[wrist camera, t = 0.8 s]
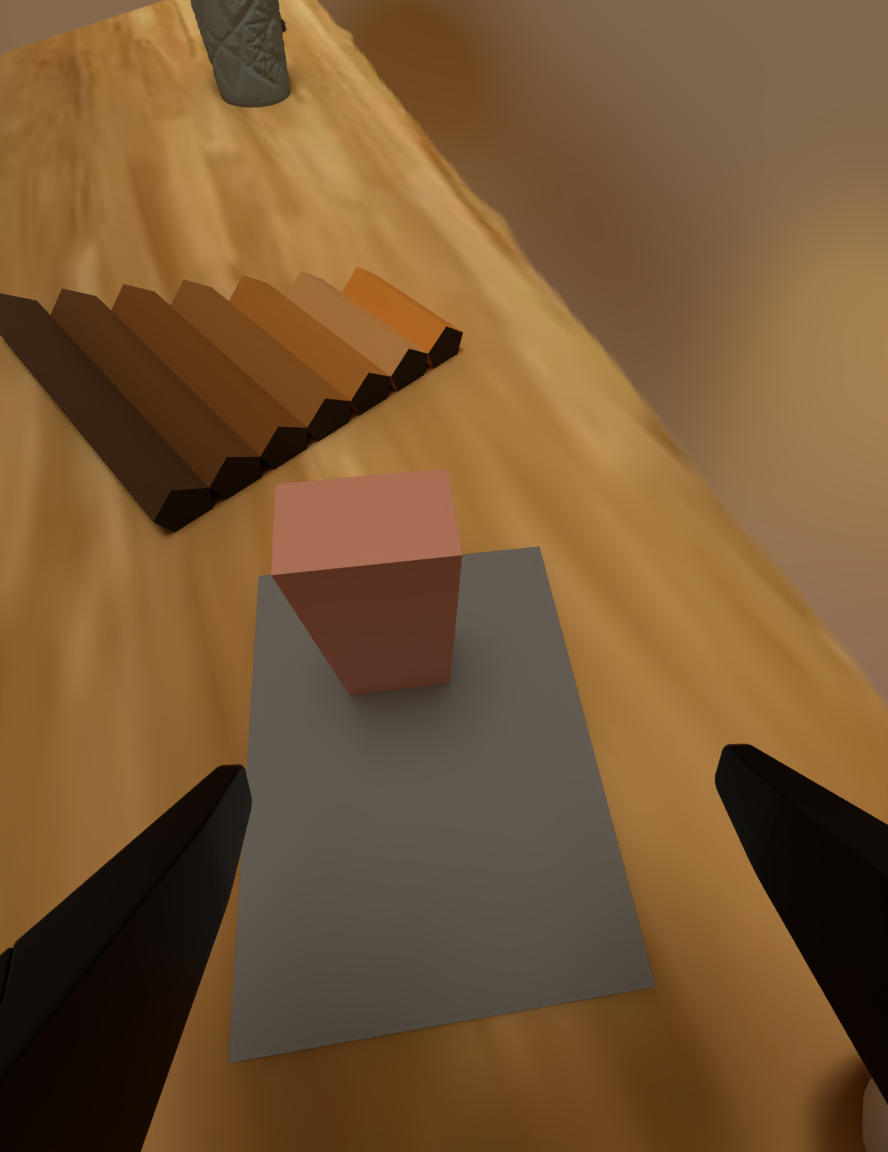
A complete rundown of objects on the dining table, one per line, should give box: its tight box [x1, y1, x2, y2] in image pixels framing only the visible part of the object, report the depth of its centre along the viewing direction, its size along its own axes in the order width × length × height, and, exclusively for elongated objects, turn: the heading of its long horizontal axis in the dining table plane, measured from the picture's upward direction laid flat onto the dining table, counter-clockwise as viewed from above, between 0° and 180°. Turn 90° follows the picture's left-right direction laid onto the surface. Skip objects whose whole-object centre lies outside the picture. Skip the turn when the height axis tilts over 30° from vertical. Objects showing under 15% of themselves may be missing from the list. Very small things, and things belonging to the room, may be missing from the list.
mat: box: [229, 547, 656, 1063], centre depth 22 cm, size 20×16×1 cm
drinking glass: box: [191, 0, 290, 107], centre depth 54 cm, size 10×10×12 cm
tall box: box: [271, 469, 462, 696], centre depth 19 cm, size 3×5×12 cm, turn 97°
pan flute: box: [0, 267, 463, 532], centre depth 35 cm, size 25×3×25 cm
